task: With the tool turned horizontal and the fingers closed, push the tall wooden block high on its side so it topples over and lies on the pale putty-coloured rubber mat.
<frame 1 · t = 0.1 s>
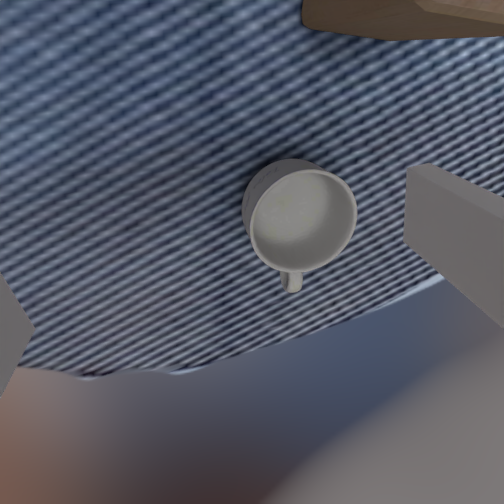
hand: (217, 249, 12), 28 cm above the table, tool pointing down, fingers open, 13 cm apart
teacup: (280, 209, 43), on the table
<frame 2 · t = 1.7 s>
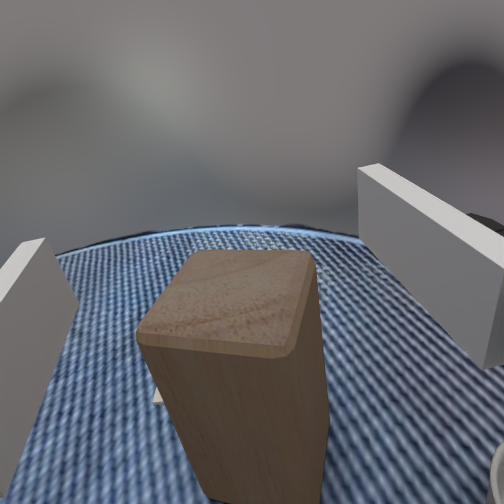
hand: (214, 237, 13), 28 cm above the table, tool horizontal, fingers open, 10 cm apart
wooden block: (271, 457, 35), on the table
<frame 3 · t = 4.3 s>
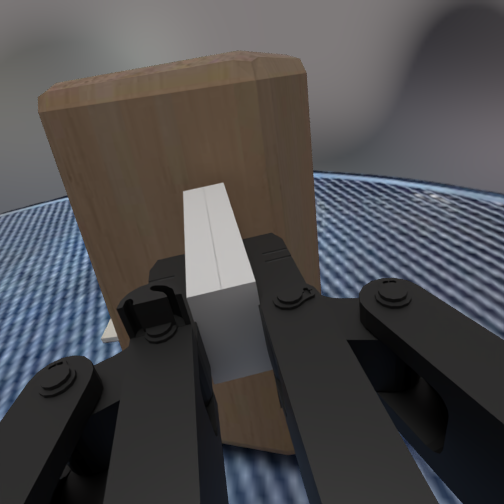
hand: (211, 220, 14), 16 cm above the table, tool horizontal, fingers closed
wooden block: (245, 388, 26), on the table, touching gripper
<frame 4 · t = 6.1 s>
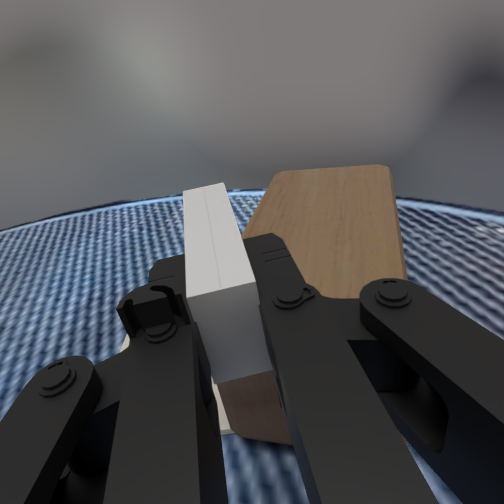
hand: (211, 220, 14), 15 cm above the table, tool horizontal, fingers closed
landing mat: (226, 352, 29), on the table
wooden block: (302, 402, 18), point 5 cm above the table, touching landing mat
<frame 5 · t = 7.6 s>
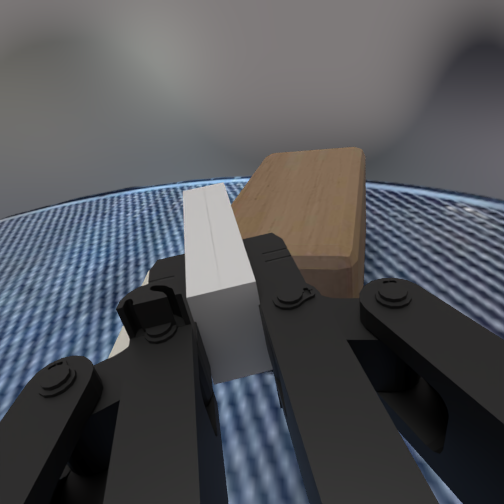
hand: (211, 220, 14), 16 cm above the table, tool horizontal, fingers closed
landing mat: (222, 304, 35), on the table
wooden block: (276, 321, 24), point 5 cm above the table, touching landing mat
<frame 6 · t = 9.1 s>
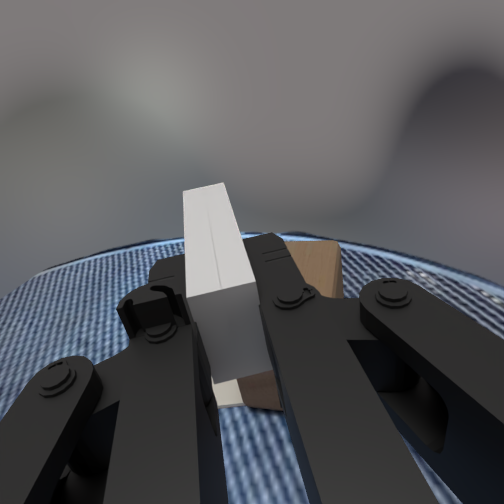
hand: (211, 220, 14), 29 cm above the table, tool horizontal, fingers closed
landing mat: (238, 359, 48), on the table
wooden block: (279, 385, 36), point 6 cm above the table, touching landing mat
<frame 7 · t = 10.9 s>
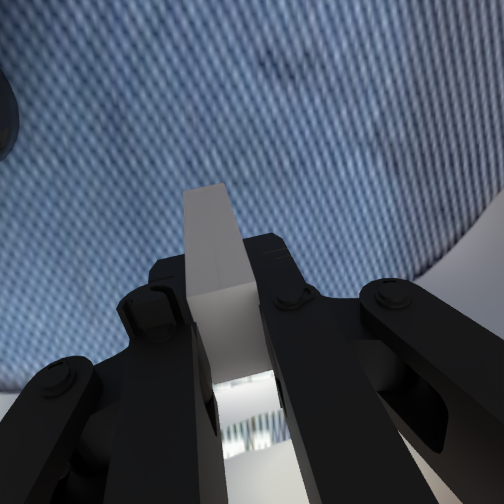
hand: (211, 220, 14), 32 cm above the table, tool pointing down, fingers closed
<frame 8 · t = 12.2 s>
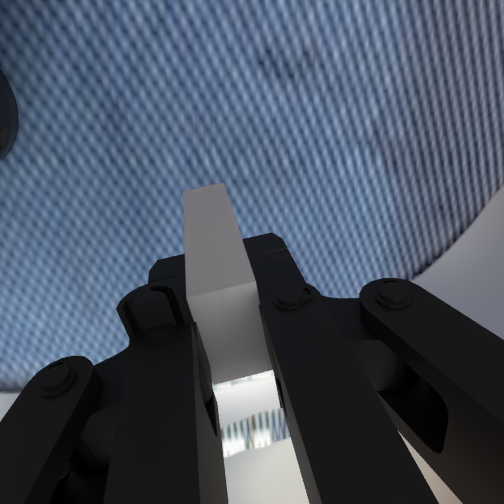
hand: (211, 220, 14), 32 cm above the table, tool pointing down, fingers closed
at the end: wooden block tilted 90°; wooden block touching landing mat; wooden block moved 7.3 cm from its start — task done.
